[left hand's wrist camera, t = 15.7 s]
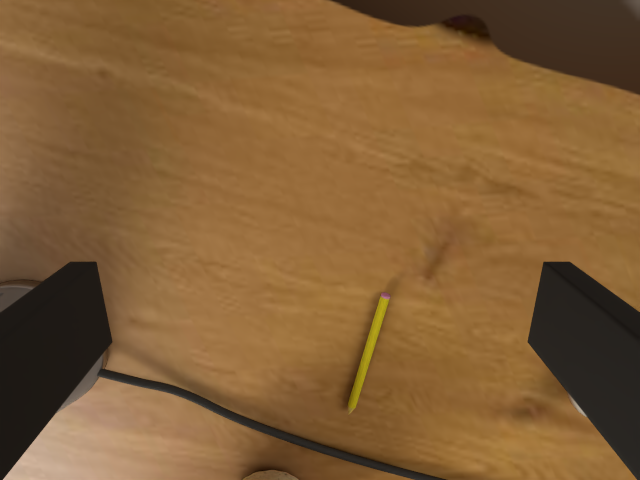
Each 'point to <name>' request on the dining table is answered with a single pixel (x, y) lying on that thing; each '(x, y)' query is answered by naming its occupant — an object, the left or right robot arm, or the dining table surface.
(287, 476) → the bowl
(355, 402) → the pencil
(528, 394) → the dining table surface
